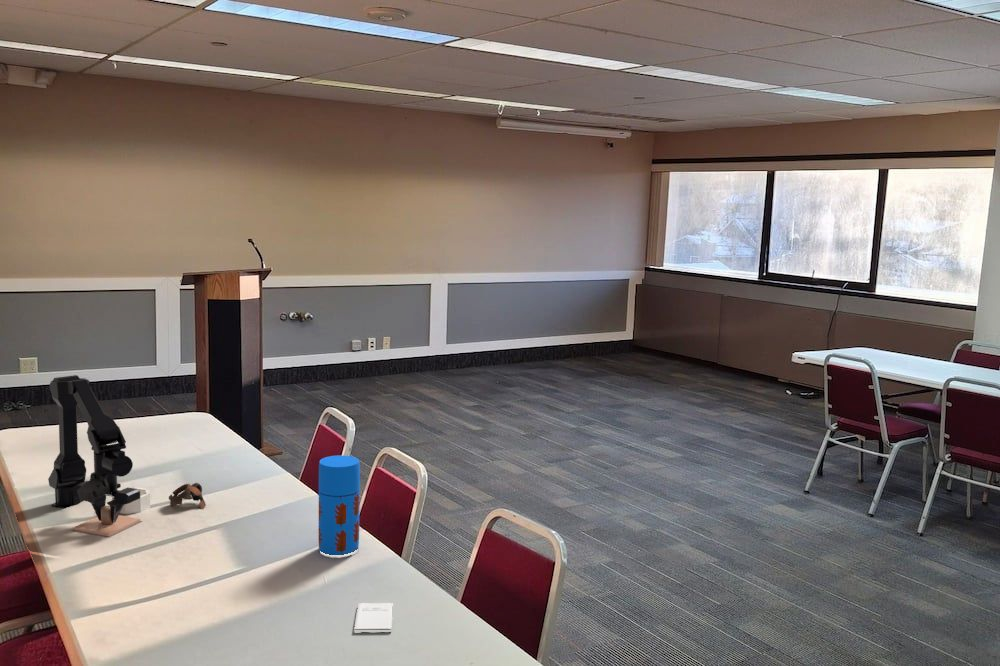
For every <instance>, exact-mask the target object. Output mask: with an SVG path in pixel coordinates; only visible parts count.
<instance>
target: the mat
mask: <svg viewBox="0 0 1000 666" xmlns="http://www.w3.org/2000/svg"><path fill="white" fill-rule="evenodd" d="M142 522H143V520H140V522H138V523H136V524H134V525H132V526H130V527H128V528H126V529H124V530H122V531H119V532H117V533H115V534H113V535H111V536H104V535H98V534H93V533H88V532H82V531H77V530H74V528H73V529H71V531H72V532H78V533H83V534H89V535H93V536H98V537H99V536H100V537H104V538H111V537H114V536H115V535H118V534H120V533H121V532H123V531H126V530H128V529H130V528H133V527H134V526H136V525H138V524H141V523H142Z"/></svg>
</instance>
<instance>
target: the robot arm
mask: <svg viewBox="0 0 1000 666" xmlns="http://www.w3.org/2000/svg"><path fill="white" fill-rule="evenodd" d="M49 391H50V393H51V398H52V400H53V401H54V402H55V403H56V405H57V408H58V409H57V410H58V411H57V412H58V433H59V434H58V437H59V439H58V440H59V441H58V442H59V453H58V455H57V456H56V458H55V459H54V461H53V470H52V471H51V473H50V474H49V477H48V478H47V479H48V481H47V482H48V484H49V485H48V486H49V487H51V488H52V489H54V496H55V497H54V498H55V499H54V500H55V502H53V503H51V505H52V506H51V507H55V506H58V507H57V508H62V509H67V508H71V507H73V506H76V505H78V504H81V503H83V502H88V503H90V504H91V506H92V507H93V510H94V512H95V514H96V517H98V519H99V521H101V507H103V506H106V504H107V506H110V510H111V521H112V523H115V522H116V520H117V518H118V516H119V515H120V514H121V513H120V511H121V509H122V507H123V506H124V504H129V503H131V502H133V501H135V500H138V499H140V491H139V490H138V489H134V488H135V487H125V488H122V489H123V490H122V489H120V488H121V486H122V485H121V483H118V477H125V476H127V475H129V474H130V472H132V469H133V465H134V464H133V463H134V462H133V460H132V459H131V458H130V457H129V456H128V455H126V451H125V449H127V445H126V442H127V441H126V439H125V437H124V435H123V433H122V430H121V429H120V426H119V425H118V424H117V423H116V421H115V420H114V419H113V418H112V417H110V416H108V415H106V414H105V412H104V411H103V409H102V407H101V404H100V403H99V401H98V399H97V397H96V396H95V394H94V392H93V390H92V387H91V381H90V380H89V379H87V378H85V377H79V375H77V374H75V375H74V374H73V375H67V376H58V377H54V378H53V379H52V380H51V381H50V382H49ZM77 405H78V407H79V409H80V411H81V413H82V415H83V417H84V419H85V421H86V423H87V425H88V427H87V431H86V434H87V438H88V439H87V440H88V442H89V443H90V446H91V450H92V451H93V468H94V469H93V471H94V472H91V473H90V475H89V478H90V479H89V480H86V475H87V467H86V461H85V460H84V459H83V458H82V456H81V455H80V454H79V452H78V450H79V448H78V446H79V445H78V414H77V411H78V409H77ZM118 489H120V491H119V490H118ZM107 497H112V498H111V500H110V501H107ZM106 501H107V502H106Z"/></svg>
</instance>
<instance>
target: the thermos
mask: <svg viewBox="0 0 1000 666" xmlns="http://www.w3.org/2000/svg"><path fill="white" fill-rule="evenodd" d="M360 479H361V467H360V459H359V458H357V457H355V456H352V455H331V456H330V455H329V456H326V457H323V458H321V459H320V460H319V464H318V551H319V550H320V551H321V552H323V553H325V554H329V555H344V554H348V553H351V552H354V551H355V550H357V549H358V550H359V548H360V547H359V546H360V545H359V544H360V500H361V499H360V495H361V494H360V493H361V490H360V489H361V487H360V485H361V482H360V481H361V480H360Z"/></svg>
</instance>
